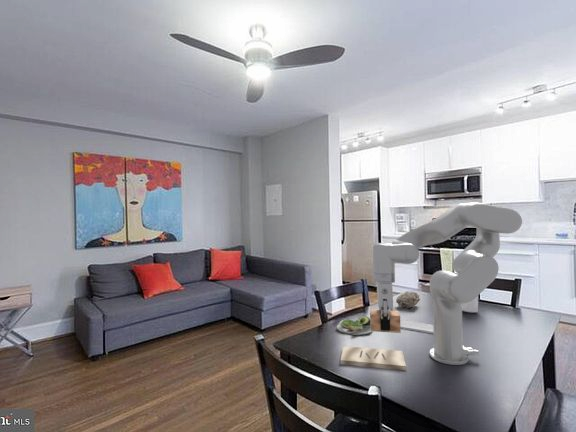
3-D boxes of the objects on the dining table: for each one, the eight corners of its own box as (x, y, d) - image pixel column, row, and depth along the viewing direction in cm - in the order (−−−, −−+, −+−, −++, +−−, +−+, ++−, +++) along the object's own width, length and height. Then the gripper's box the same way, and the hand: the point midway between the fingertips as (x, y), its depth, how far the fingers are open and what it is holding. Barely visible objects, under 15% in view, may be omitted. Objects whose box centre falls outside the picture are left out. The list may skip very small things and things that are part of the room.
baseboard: (373, 316, 162) (366, 324, 152) (373, 311, 162) (366, 318, 152) (438, 326, 145) (435, 335, 135) (438, 320, 145) (434, 329, 135)
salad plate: (372, 341, 131) (372, 330, 131) (331, 335, 138) (331, 325, 138) (379, 325, 148) (378, 316, 148) (342, 321, 156) (342, 312, 156)
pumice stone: (406, 302, 185) (405, 289, 185) (425, 306, 176) (425, 292, 176) (393, 307, 176) (393, 293, 176) (413, 312, 167) (412, 297, 167)
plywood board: (402, 354, 116) (402, 350, 116) (406, 370, 105) (405, 365, 105) (343, 350, 122) (343, 346, 122) (340, 364, 110) (340, 359, 110)
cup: (456, 311, 165) (455, 284, 165) (466, 309, 169) (466, 283, 169) (471, 315, 158) (470, 288, 158) (482, 313, 161) (481, 286, 161)
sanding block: (398, 326, 114) (397, 310, 114) (400, 332, 108) (400, 315, 108) (370, 325, 116) (369, 309, 116) (371, 331, 110) (370, 314, 110)
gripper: (396, 282, 103) (397, 336, 103) (393, 273, 120) (393, 319, 120) (373, 281, 105) (374, 334, 105) (373, 272, 121) (373, 318, 121)
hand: (384, 326), depth 112 cm, fingers closed on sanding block, 6 cm apart
